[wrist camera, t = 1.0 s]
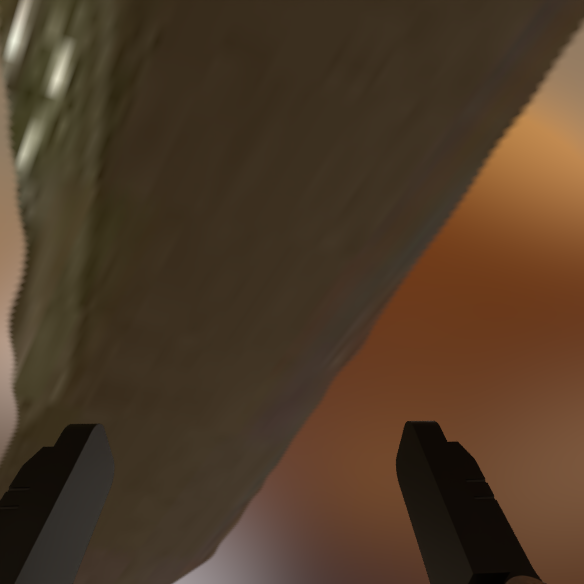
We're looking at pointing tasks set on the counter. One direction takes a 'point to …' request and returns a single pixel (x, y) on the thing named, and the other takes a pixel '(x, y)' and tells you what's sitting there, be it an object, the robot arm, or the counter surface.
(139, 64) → the counter surface
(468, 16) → the counter surface
